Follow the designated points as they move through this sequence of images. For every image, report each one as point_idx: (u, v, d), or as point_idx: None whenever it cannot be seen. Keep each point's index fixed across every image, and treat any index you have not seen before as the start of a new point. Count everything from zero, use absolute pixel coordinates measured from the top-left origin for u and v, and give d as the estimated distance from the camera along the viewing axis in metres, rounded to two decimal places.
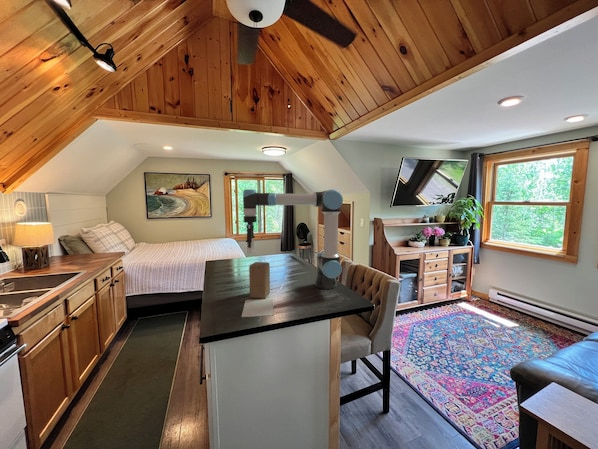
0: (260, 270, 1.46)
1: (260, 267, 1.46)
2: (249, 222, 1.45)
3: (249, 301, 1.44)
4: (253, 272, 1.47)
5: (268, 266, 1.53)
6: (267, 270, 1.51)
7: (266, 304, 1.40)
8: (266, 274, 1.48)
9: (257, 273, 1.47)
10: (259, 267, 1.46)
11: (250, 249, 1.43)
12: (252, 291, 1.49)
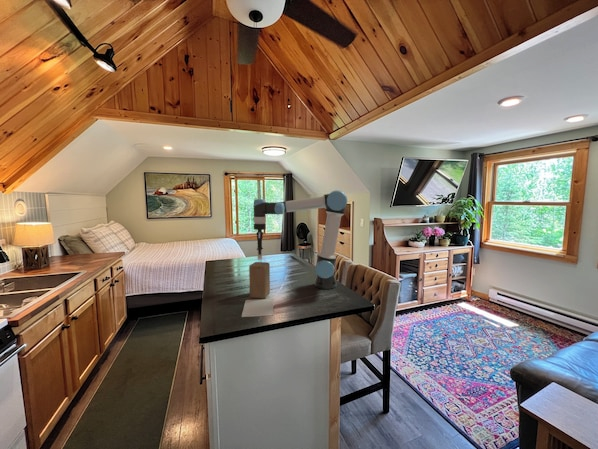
0: (260, 270, 1.46)
1: (260, 267, 1.46)
2: (259, 229, 1.57)
3: (249, 301, 1.44)
4: (253, 272, 1.47)
5: (268, 266, 1.53)
6: (267, 270, 1.51)
7: (266, 304, 1.40)
8: (266, 274, 1.48)
9: (257, 273, 1.47)
10: (259, 267, 1.46)
11: (260, 256, 1.62)
12: (252, 291, 1.49)
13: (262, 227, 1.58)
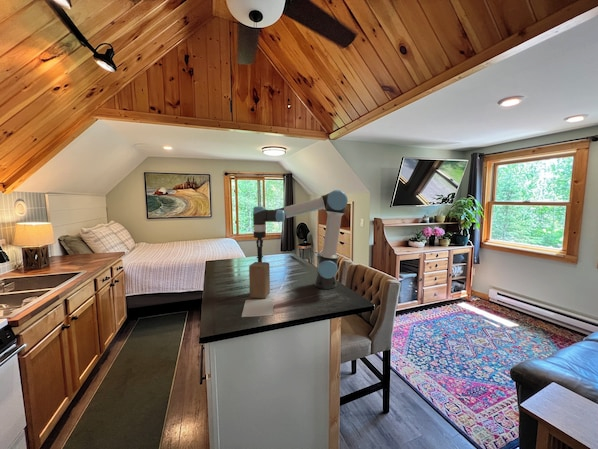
0: (260, 270, 1.46)
1: (260, 267, 1.46)
2: (259, 237, 1.53)
3: (249, 301, 1.44)
4: (253, 272, 1.47)
5: (268, 266, 1.52)
6: (267, 270, 1.51)
7: (266, 304, 1.40)
8: (266, 274, 1.48)
9: (257, 273, 1.47)
10: (259, 267, 1.46)
11: None
12: (252, 291, 1.48)
13: (262, 235, 1.54)
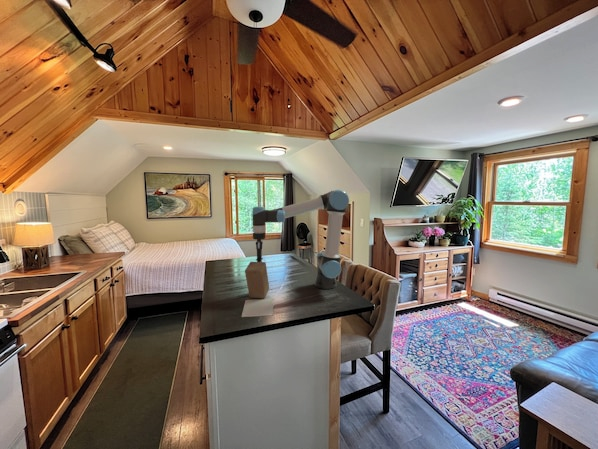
0: (257, 275, 1.41)
1: (256, 272, 1.40)
2: (258, 239, 1.48)
3: (249, 301, 1.44)
4: (250, 276, 1.42)
5: (264, 267, 1.46)
6: (264, 271, 1.45)
7: (266, 304, 1.40)
8: (263, 276, 1.44)
9: (254, 277, 1.42)
10: (255, 272, 1.40)
11: None
12: (251, 292, 1.47)
13: (262, 236, 1.48)
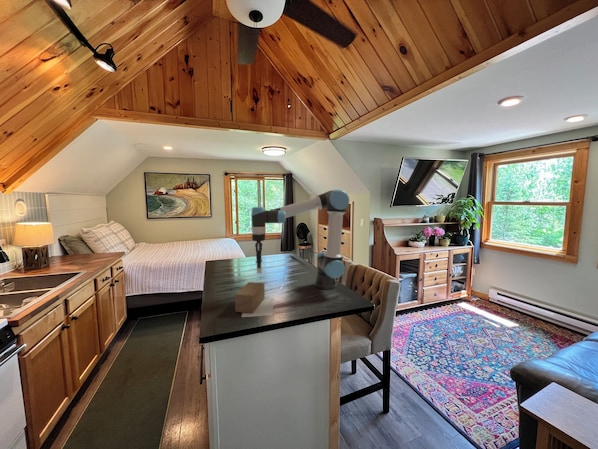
0: None
1: (248, 312, 1.29)
2: (258, 240, 1.42)
3: None
4: None
5: (253, 299, 1.29)
6: (255, 301, 1.31)
7: (266, 304, 1.40)
8: (256, 305, 1.33)
9: None
10: (247, 312, 1.29)
11: (259, 269, 1.47)
12: None
13: (261, 238, 1.43)
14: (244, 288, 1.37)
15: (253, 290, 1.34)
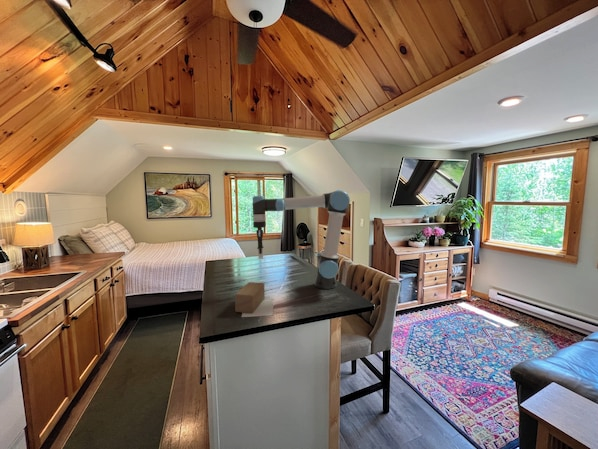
0: None
1: (248, 312, 1.29)
2: (259, 227, 1.51)
3: None
4: None
5: (253, 299, 1.29)
6: (255, 301, 1.31)
7: (266, 304, 1.40)
8: (256, 305, 1.33)
9: None
10: (247, 312, 1.29)
11: (261, 255, 1.56)
12: None
13: (262, 225, 1.52)
14: (244, 288, 1.37)
15: (253, 290, 1.34)
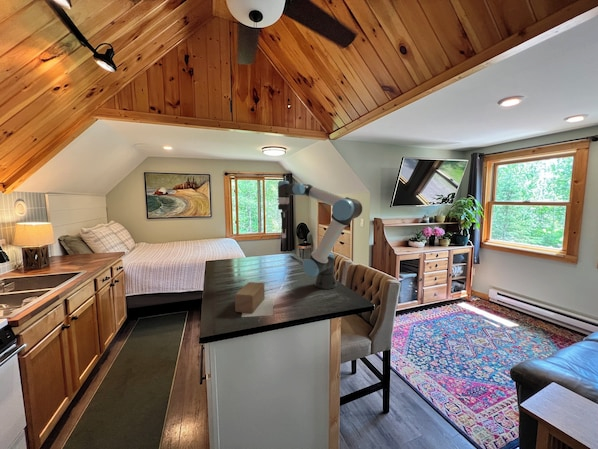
0: None
1: (248, 312, 1.29)
2: (283, 209, 1.68)
3: None
4: None
5: (253, 299, 1.29)
6: (255, 301, 1.31)
7: (266, 304, 1.40)
8: (256, 305, 1.33)
9: None
10: (247, 312, 1.29)
11: (284, 234, 1.73)
12: None
13: (286, 207, 1.68)
14: (244, 288, 1.37)
15: (253, 290, 1.34)
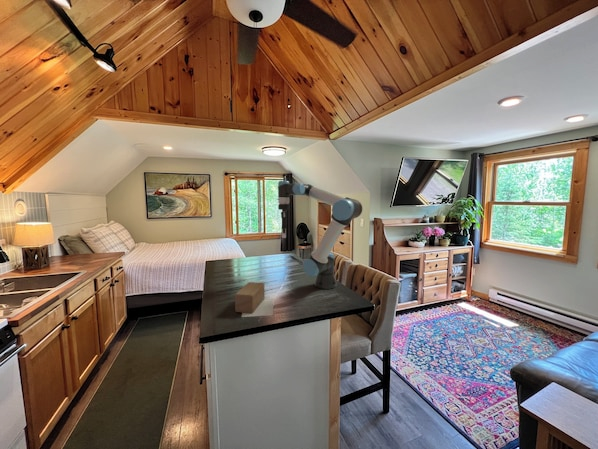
0: None
1: (248, 312, 1.29)
2: (283, 209, 1.68)
3: None
4: None
5: (253, 299, 1.29)
6: (255, 301, 1.31)
7: (266, 304, 1.40)
8: (256, 305, 1.33)
9: None
10: (247, 312, 1.29)
11: (284, 234, 1.73)
12: None
13: (286, 207, 1.69)
14: (244, 288, 1.37)
15: (253, 290, 1.34)
